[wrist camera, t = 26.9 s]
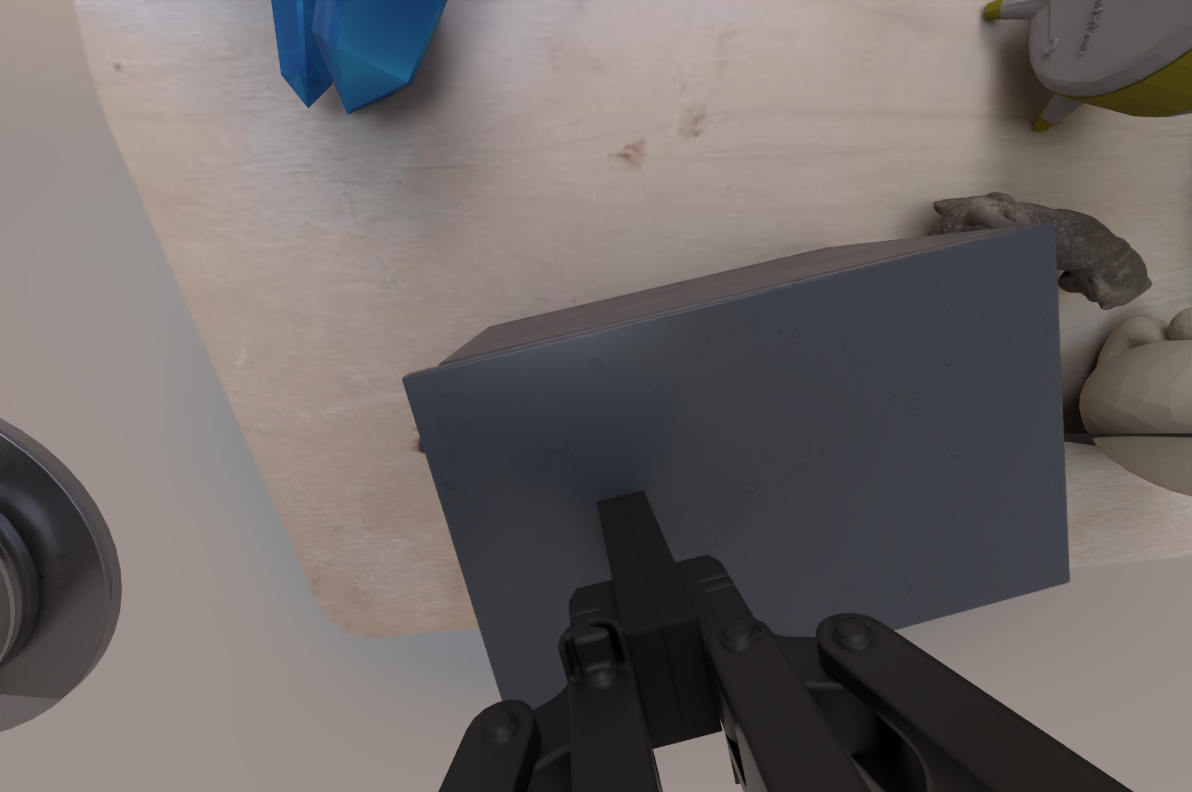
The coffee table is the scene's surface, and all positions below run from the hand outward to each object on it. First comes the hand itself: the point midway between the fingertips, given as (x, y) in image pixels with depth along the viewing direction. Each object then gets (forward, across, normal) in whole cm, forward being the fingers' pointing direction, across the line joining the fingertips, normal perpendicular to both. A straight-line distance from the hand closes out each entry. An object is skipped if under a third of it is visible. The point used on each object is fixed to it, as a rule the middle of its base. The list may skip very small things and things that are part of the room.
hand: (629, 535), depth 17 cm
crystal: (+16, -5, +22) cm, 27 cm away
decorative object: (+16, +31, -6) cm, 35 cm away
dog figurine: (+16, +24, +4) cm, 29 cm away
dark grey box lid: (+2, +5, 0) cm, 5 cm away
